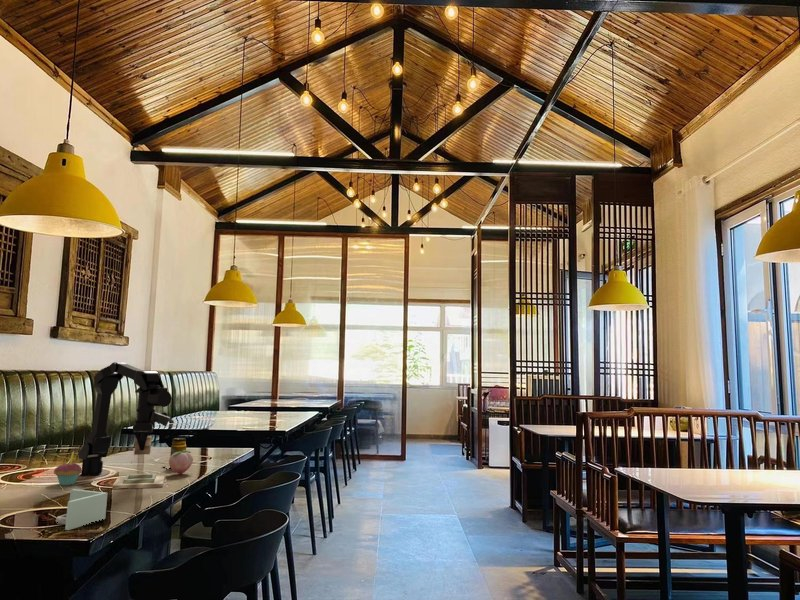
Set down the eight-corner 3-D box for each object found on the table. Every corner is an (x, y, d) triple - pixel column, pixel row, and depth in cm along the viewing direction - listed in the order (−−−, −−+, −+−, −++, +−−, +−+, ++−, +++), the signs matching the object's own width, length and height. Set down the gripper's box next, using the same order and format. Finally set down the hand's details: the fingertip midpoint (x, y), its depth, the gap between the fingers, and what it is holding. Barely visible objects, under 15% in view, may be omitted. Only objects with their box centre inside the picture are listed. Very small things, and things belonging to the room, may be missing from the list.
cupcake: (85, 483, 200) (89, 448, 201) (63, 487, 192) (66, 451, 194) (70, 480, 203) (73, 447, 205) (47, 484, 196) (50, 449, 197)
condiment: (188, 467, 236) (190, 438, 238) (168, 469, 230) (170, 440, 232) (181, 465, 241) (183, 437, 243) (161, 467, 236) (163, 438, 237)
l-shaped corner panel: (70, 516, 157) (73, 489, 158) (105, 521, 154) (107, 492, 155) (31, 527, 146) (35, 497, 147) (68, 532, 142) (71, 501, 144)
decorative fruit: (177, 471, 226) (178, 446, 227) (195, 473, 224) (197, 447, 226) (162, 475, 217) (164, 449, 218) (181, 477, 215) (183, 450, 217)
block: (134, 454, 200) (135, 437, 200) (135, 452, 204) (136, 436, 205) (149, 454, 201) (150, 437, 202) (150, 452, 206) (151, 435, 207)
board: (112, 489, 191) (112, 481, 192) (117, 480, 206) (118, 473, 206) (162, 486, 197) (163, 479, 197) (164, 478, 212) (165, 472, 212)
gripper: (168, 407, 199) (165, 452, 197) (170, 404, 217) (167, 445, 214) (134, 407, 195) (130, 453, 193) (139, 404, 213) (135, 446, 211)
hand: (142, 449), depth 203 cm, fingers closed on block, 5 cm apart
